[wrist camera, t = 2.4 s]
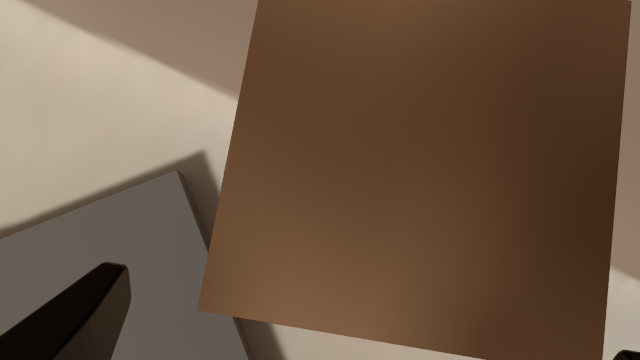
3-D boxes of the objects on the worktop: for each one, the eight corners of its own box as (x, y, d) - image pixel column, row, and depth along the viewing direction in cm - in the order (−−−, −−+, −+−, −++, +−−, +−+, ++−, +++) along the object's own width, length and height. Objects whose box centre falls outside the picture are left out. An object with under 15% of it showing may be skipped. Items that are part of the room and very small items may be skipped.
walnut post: (406, 302, 19) (600, 379, 7) (269, 279, 19) (197, 310, 7) (425, 168, 20) (631, 1, 7) (293, 145, 20) (270, -61, 7)
